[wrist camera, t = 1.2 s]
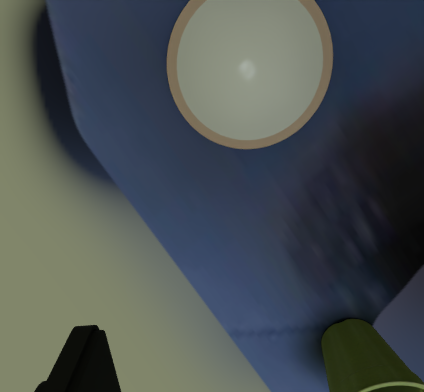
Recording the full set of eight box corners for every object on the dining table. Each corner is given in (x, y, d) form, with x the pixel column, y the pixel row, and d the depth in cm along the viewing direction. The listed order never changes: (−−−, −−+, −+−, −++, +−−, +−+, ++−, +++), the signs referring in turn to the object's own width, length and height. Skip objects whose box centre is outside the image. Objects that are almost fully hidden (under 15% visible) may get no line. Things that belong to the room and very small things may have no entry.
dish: (251, -70, 28) (254, -77, 27) (359, 66, 32) (366, 66, 31) (135, 68, 32) (132, 69, 30) (245, 174, 36) (246, 179, 35)
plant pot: (302, 307, 43) (333, 387, 32) (396, 299, 43) (458, 377, 32) (301, 375, 47) (328, 464, 37) (387, 367, 47) (438, 456, 37)
